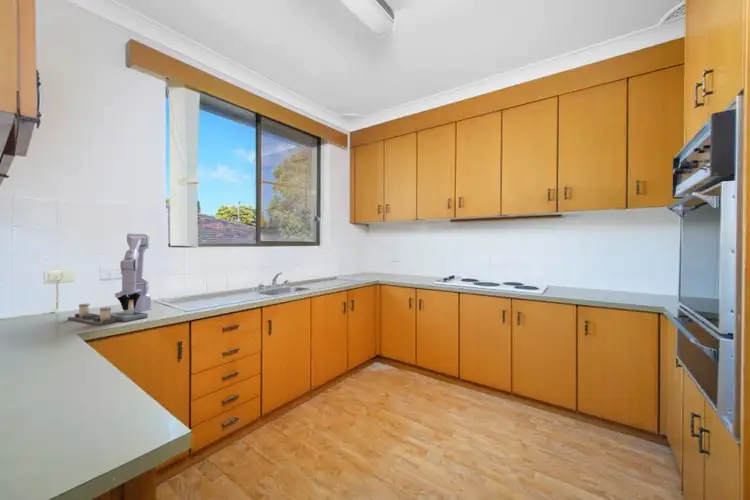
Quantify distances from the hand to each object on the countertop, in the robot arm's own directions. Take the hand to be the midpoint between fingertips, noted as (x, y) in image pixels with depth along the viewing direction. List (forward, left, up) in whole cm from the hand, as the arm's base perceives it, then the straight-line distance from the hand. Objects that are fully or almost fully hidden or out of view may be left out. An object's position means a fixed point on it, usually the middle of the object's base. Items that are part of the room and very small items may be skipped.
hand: (129, 308), depth 167 cm
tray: (0, 0, -5) cm, 5 cm away
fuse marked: (0, 0, -2) cm, 2 cm away
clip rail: (+10, -10, -5) cm, 15 cm away
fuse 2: (+10, -1, -5) cm, 11 cm away
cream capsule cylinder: (+10, -19, -5) cm, 22 cm away
